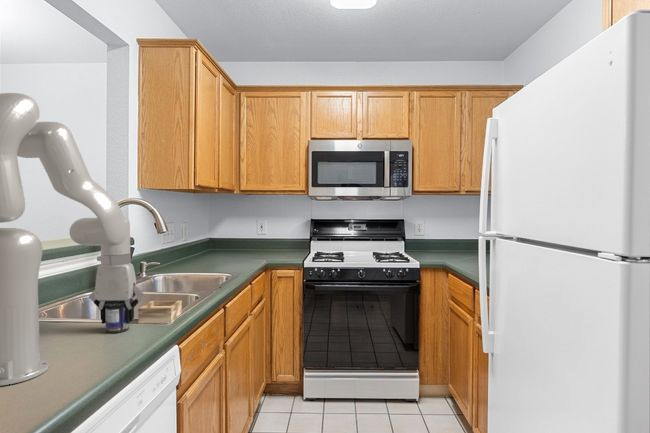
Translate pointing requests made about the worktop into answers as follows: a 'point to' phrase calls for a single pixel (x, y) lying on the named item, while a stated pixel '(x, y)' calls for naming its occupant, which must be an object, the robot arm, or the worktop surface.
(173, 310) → the wooden tray
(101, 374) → the worktop surface
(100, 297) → the robot arm
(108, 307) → the pill bottle
